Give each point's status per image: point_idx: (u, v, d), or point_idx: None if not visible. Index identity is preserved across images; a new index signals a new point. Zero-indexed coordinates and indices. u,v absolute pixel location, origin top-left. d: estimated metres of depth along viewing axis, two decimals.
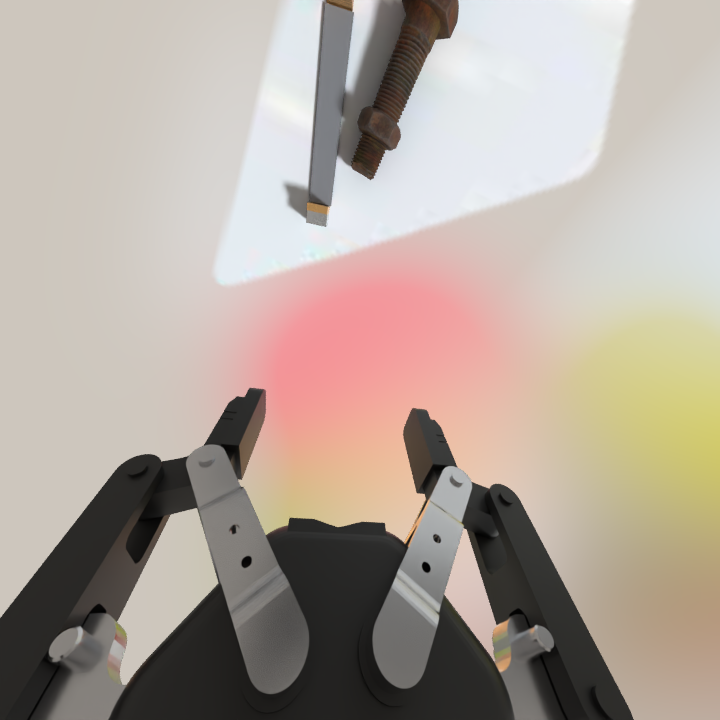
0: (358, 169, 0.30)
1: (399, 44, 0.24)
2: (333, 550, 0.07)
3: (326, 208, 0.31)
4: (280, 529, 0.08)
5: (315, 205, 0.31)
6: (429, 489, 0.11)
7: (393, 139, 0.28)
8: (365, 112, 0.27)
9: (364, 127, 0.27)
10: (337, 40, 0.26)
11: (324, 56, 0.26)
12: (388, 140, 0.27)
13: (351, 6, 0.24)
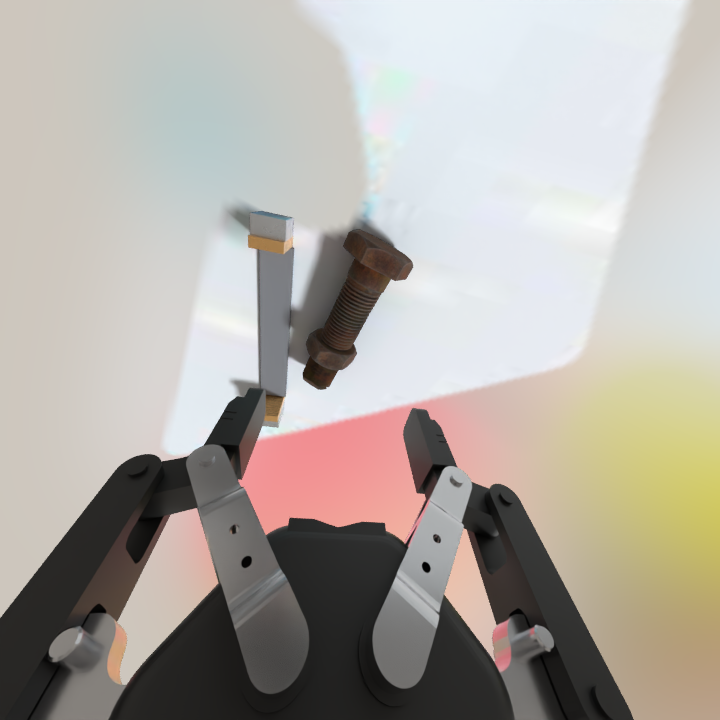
0: (310, 383, 0.26)
1: (345, 291, 0.21)
2: (333, 550, 0.07)
3: (276, 417, 0.27)
4: (280, 529, 0.08)
5: None
6: (429, 489, 0.11)
7: (347, 363, 0.24)
8: (313, 342, 0.24)
9: (312, 358, 0.24)
10: (277, 271, 0.22)
11: (264, 284, 0.23)
12: None
13: (289, 247, 0.21)
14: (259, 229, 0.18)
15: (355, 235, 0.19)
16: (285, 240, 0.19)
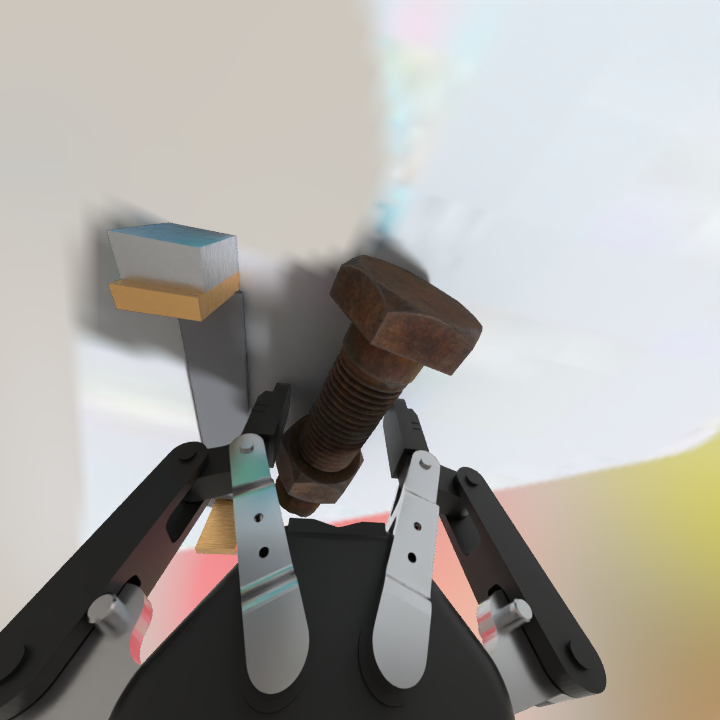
0: None
1: (338, 381, 0.10)
2: (333, 550, 0.07)
3: (232, 550, 0.17)
4: None
5: (211, 548, 0.17)
6: (401, 473, 0.12)
7: None
8: (283, 456, 0.13)
9: (283, 484, 0.13)
10: (215, 333, 0.12)
11: (193, 353, 0.13)
12: None
13: None
14: (140, 267, 0.08)
15: (355, 276, 0.08)
16: (205, 289, 0.08)
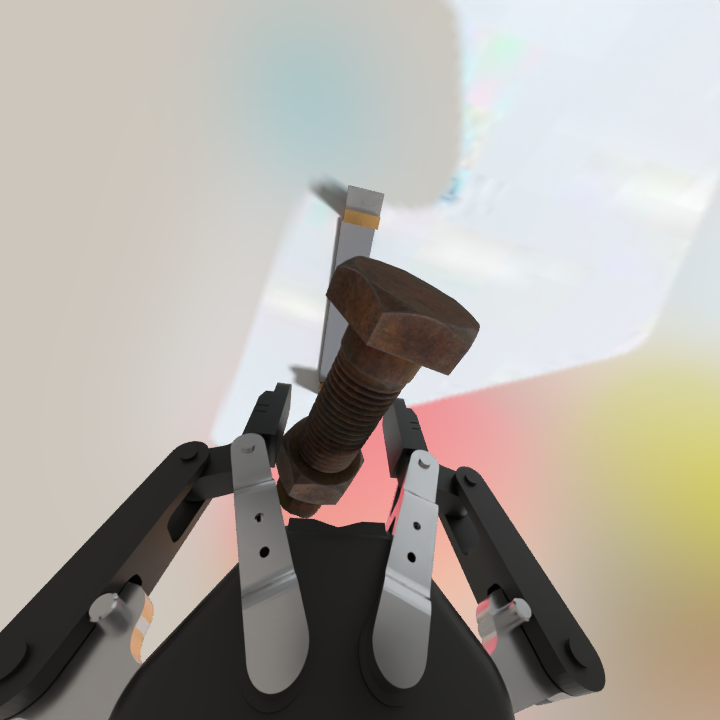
0: None
1: (336, 382, 0.10)
2: (333, 550, 0.07)
3: None
4: None
5: None
6: (400, 473, 0.12)
7: None
8: (283, 458, 0.13)
9: (283, 485, 0.13)
10: (355, 251, 0.22)
11: (339, 264, 0.22)
12: None
13: None
14: (355, 202, 0.18)
15: (351, 277, 0.08)
16: (379, 215, 0.18)
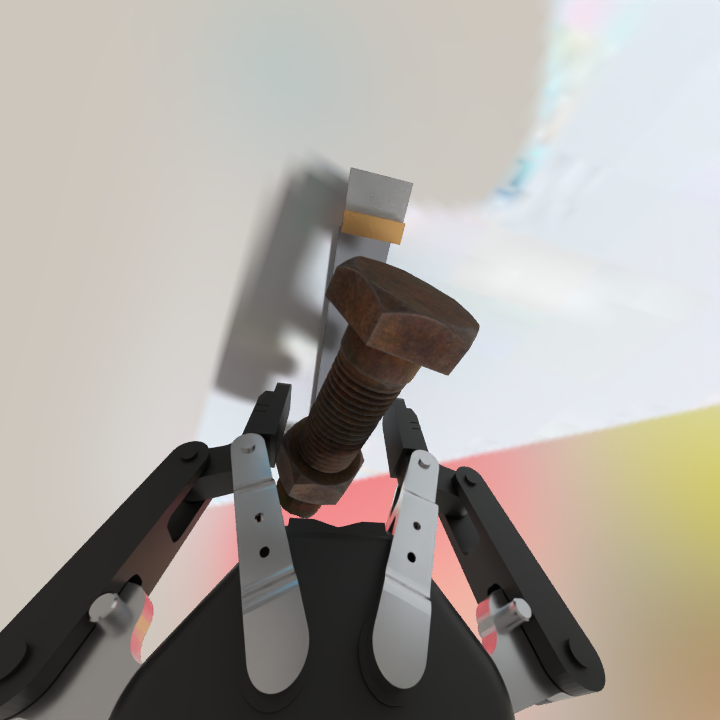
0: None
1: (336, 382, 0.10)
2: (333, 550, 0.07)
3: None
4: None
5: None
6: (400, 473, 0.12)
7: None
8: (283, 458, 0.13)
9: (283, 485, 0.13)
10: None
11: None
12: None
13: None
14: (363, 199, 0.10)
15: (351, 277, 0.08)
16: (402, 220, 0.11)
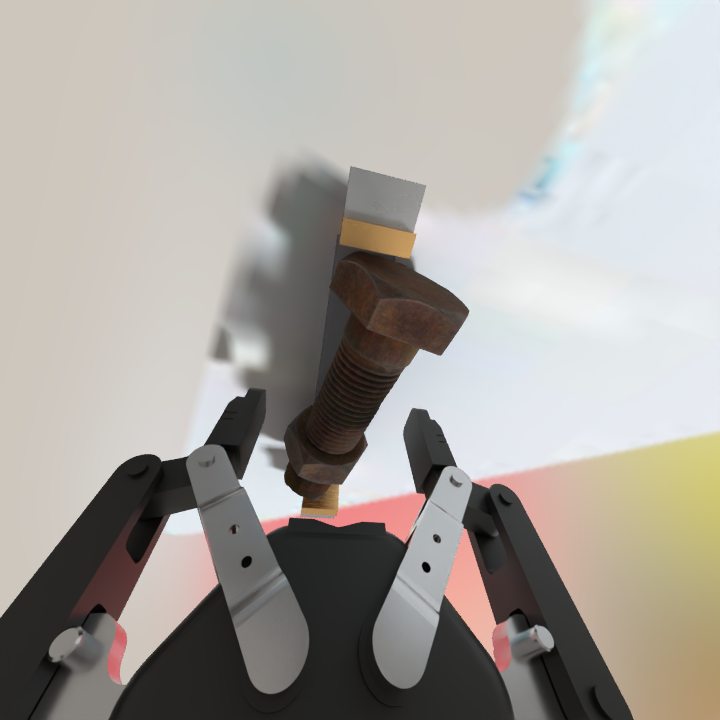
0: None
1: (340, 367, 0.11)
2: (333, 550, 0.07)
3: (335, 510, 0.18)
4: (280, 529, 0.08)
5: (316, 508, 0.17)
6: (428, 489, 0.11)
7: None
8: (293, 441, 0.14)
9: (293, 467, 0.14)
10: None
11: (334, 309, 0.13)
12: None
13: None
14: (365, 204, 0.08)
15: (351, 269, 0.09)
16: (412, 230, 0.09)
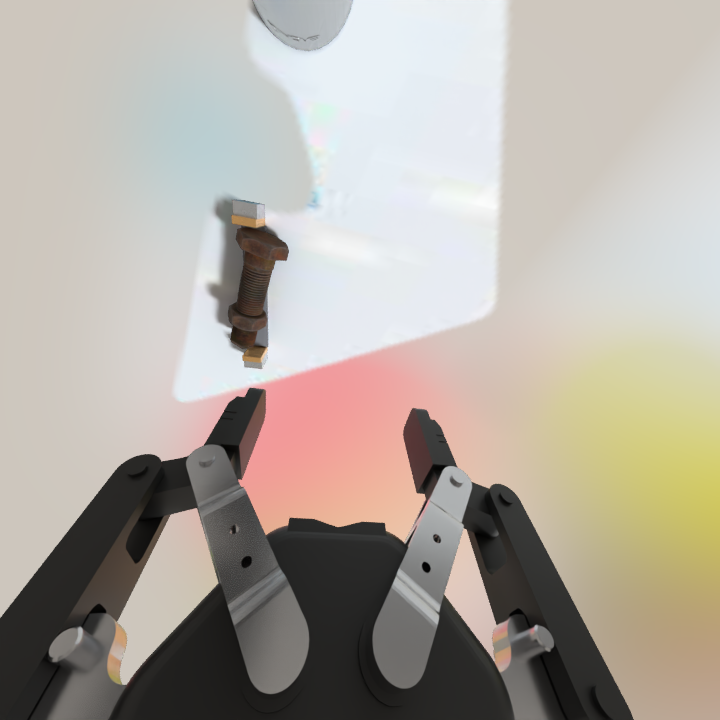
0: (236, 344, 0.35)
1: (243, 271, 0.30)
2: (333, 550, 0.07)
3: (259, 359, 0.36)
4: (280, 529, 0.08)
5: (249, 357, 0.36)
6: (429, 489, 0.11)
7: (258, 326, 0.33)
8: (230, 311, 0.32)
9: (230, 322, 0.33)
10: None
11: None
12: (252, 330, 0.33)
13: (262, 225, 0.30)
14: (239, 210, 0.27)
15: (239, 231, 0.27)
16: (257, 218, 0.28)
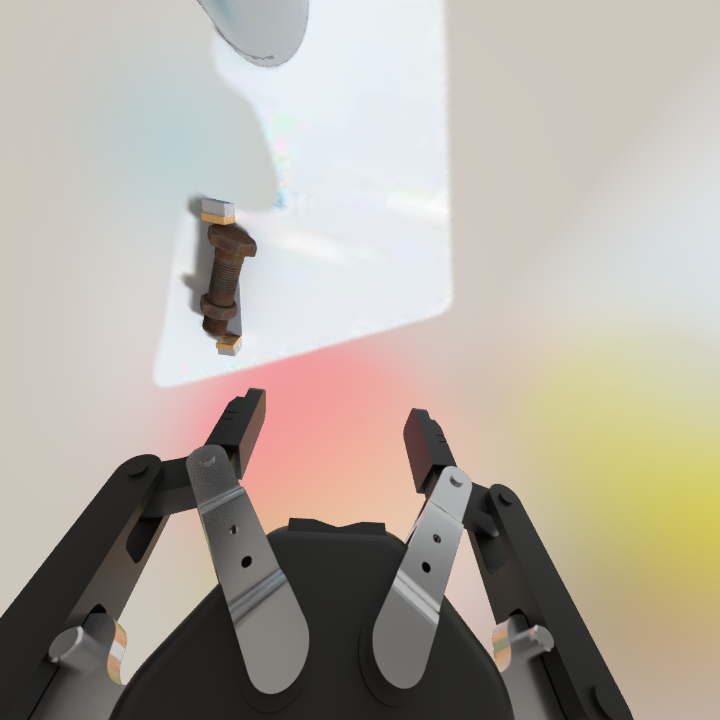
0: (207, 331, 0.38)
1: None
2: (333, 550, 0.07)
3: (231, 346, 0.39)
4: (280, 529, 0.08)
5: (222, 345, 0.39)
6: (429, 489, 0.11)
7: (228, 316, 0.36)
8: (201, 300, 0.35)
9: None
10: None
11: None
12: (222, 319, 0.36)
13: (231, 222, 0.33)
14: (208, 208, 0.30)
15: (210, 228, 0.30)
16: (225, 216, 0.30)
